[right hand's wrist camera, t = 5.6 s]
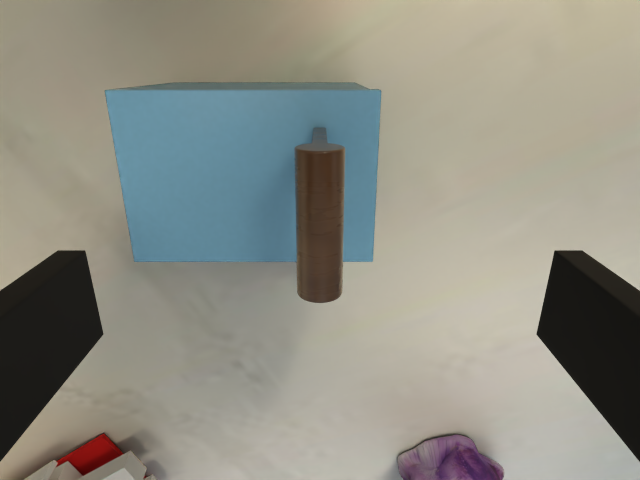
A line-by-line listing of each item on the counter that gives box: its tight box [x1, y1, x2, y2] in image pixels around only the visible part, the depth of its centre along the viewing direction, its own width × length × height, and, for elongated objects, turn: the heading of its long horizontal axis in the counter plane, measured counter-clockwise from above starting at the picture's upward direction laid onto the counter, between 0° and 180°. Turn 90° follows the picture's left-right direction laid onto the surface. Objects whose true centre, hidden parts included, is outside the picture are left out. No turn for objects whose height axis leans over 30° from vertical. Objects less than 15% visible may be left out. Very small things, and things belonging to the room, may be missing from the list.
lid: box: [105, 89, 381, 303], centre depth 21 cm, size 14×10×9 cm
